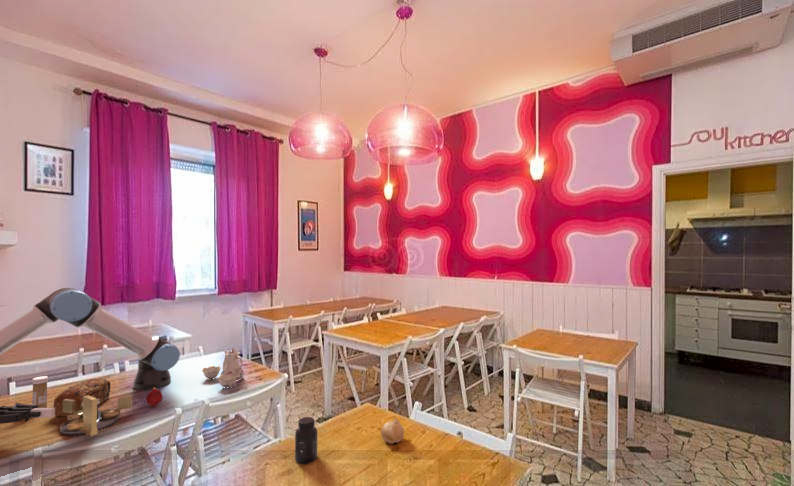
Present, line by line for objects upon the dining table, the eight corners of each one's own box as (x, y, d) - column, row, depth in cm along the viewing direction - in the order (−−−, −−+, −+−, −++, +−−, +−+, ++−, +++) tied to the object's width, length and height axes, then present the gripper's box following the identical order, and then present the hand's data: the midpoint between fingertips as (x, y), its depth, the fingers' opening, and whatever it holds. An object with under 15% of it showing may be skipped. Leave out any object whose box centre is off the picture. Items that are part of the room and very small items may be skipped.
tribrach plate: (132, 407, 156) (133, 387, 156) (130, 425, 141) (130, 402, 141) (63, 420, 144) (63, 398, 144) (51, 441, 129) (52, 416, 129)
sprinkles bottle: (46, 411, 152) (46, 378, 152) (30, 414, 149) (30, 380, 149) (48, 407, 155) (48, 374, 155) (33, 410, 153) (33, 377, 153)
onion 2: (401, 448, 126) (402, 426, 126) (378, 445, 127) (378, 424, 128) (405, 436, 134) (405, 416, 134) (383, 434, 135) (383, 414, 135)
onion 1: (165, 405, 158) (165, 386, 158) (151, 410, 153) (151, 391, 153) (156, 402, 161) (156, 384, 161) (142, 408, 156) (143, 388, 156)
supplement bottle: (290, 461, 118) (290, 422, 118) (304, 450, 124) (304, 413, 124) (308, 466, 115) (308, 427, 115) (321, 455, 121) (321, 417, 121)
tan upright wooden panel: (64, 428, 134) (64, 394, 134) (84, 421, 139) (85, 388, 139) (83, 439, 127) (84, 402, 127) (104, 431, 132) (104, 396, 132)
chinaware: (196, 383, 189) (193, 350, 187) (227, 371, 202) (224, 340, 201) (226, 396, 172) (223, 361, 171) (258, 382, 186) (256, 349, 185)
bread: (81, 416, 148) (81, 391, 148) (51, 418, 147) (51, 392, 147) (111, 397, 166) (112, 375, 166) (85, 398, 165) (85, 375, 165)
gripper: (-5, 417, 133) (67, 414, 135) (-44, 435, 120) (36, 432, 122) (-4, 396, 133) (68, 393, 136) (-44, 412, 120) (36, 409, 123)
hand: (53, 412), depth 129 cm, fingers closed
